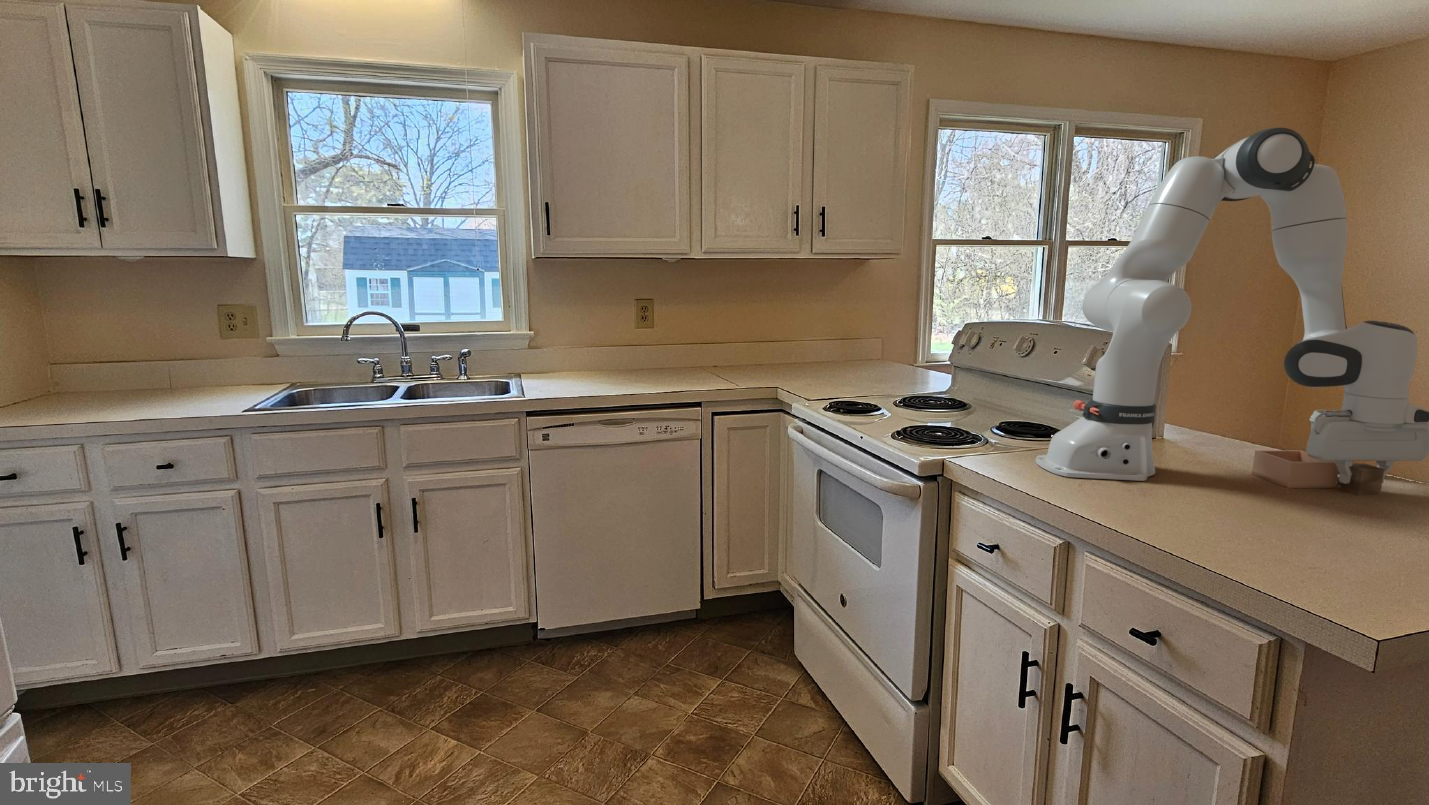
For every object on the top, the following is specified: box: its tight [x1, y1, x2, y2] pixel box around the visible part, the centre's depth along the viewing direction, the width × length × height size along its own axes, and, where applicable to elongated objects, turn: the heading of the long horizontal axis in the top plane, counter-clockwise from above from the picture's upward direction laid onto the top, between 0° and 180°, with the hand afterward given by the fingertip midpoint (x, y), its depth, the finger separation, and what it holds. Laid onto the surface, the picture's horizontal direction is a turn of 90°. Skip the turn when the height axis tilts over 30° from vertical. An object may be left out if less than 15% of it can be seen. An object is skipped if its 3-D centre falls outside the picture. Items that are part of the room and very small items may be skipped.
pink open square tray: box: [1251, 449, 1339, 489], centre depth 140 cm, size 9×9×5 cm
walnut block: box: [1339, 462, 1384, 496], centre depth 134 cm, size 4×4×5 cm
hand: (1360, 482), depth 134 cm, fingers closed on walnut block, 4 cm apart
